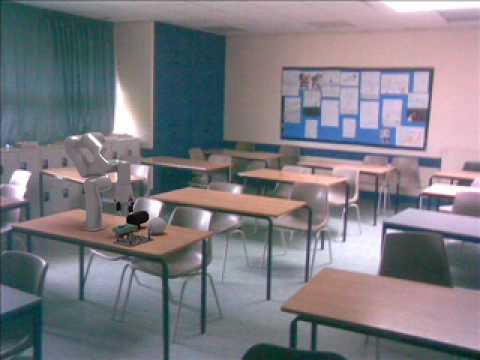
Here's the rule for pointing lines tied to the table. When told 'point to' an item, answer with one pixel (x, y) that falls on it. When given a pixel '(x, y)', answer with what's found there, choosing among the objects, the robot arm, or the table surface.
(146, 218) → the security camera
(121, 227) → the board
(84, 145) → the robot arm
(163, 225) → the eye model
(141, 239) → the chassis
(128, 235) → the stand
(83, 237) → the table surface
